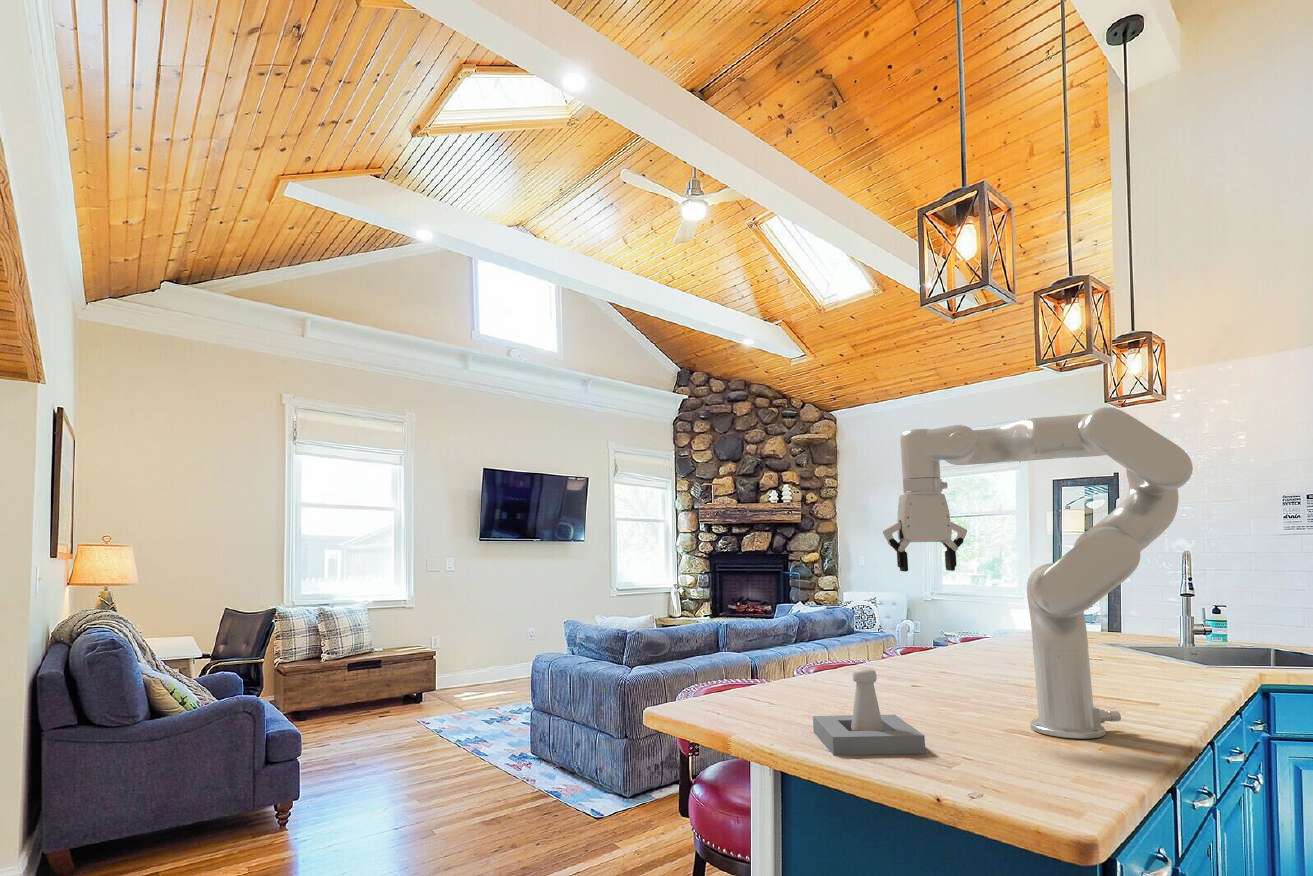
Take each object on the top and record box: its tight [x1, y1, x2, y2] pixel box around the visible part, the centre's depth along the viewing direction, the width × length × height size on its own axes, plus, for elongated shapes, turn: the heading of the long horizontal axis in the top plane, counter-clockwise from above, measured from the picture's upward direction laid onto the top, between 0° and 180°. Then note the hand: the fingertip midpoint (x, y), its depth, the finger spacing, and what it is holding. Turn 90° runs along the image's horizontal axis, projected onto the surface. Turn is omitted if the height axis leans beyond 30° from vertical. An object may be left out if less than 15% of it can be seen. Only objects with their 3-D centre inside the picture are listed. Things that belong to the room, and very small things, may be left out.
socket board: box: [812, 714, 926, 756], centre depth 139 cm, size 16×16×3 cm
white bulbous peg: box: [851, 667, 884, 731], centre depth 140 cm, size 6×6×13 cm
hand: (927, 570), depth 156 cm, fingers open, 9 cm apart
